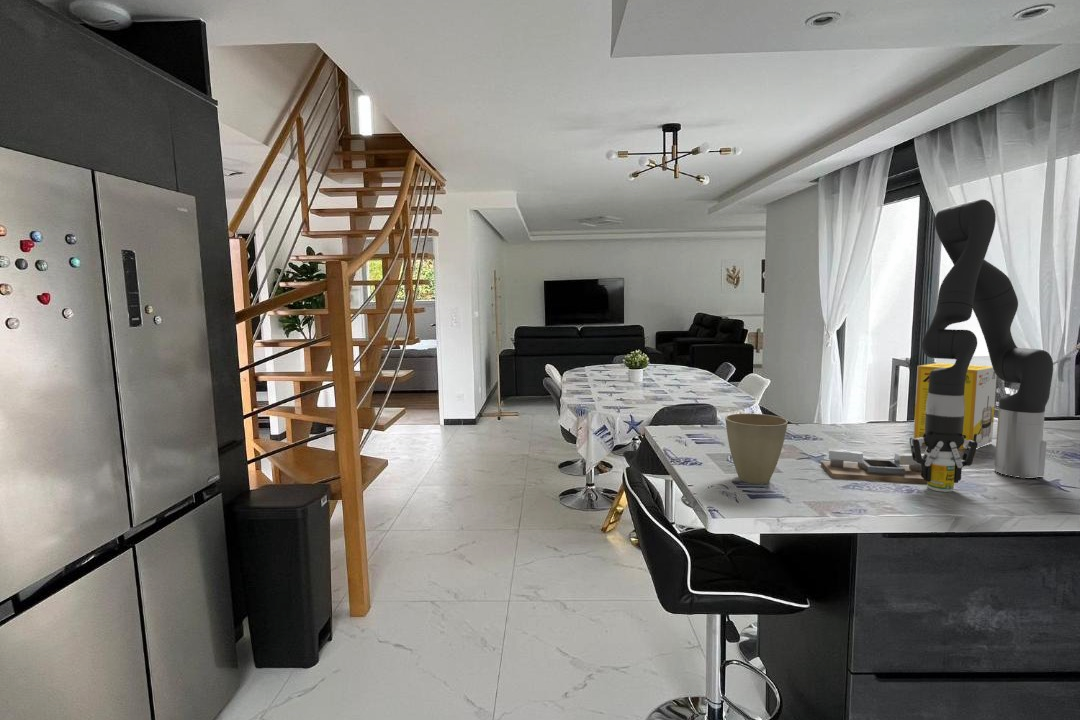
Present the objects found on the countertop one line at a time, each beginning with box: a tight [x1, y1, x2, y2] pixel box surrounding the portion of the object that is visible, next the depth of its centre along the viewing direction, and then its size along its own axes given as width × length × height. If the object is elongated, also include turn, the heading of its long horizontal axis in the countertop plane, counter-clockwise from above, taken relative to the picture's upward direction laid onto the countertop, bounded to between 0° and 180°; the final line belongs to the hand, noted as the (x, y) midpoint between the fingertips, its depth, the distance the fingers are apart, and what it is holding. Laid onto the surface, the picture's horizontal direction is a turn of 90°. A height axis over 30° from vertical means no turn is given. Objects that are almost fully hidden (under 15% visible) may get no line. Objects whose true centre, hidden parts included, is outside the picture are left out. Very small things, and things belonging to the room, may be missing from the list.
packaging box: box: [913, 362, 998, 450], centre depth 184 cm, size 16×16×25 cm
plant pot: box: [724, 412, 789, 485], centre depth 146 cm, size 15×15×16 cm
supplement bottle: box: [926, 451, 955, 493], centre depth 138 cm, size 5×5×10 cm
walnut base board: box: [820, 461, 927, 485], centre depth 151 cm, size 26×12×1 cm, turn 77°
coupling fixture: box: [828, 448, 924, 476], centre depth 151 cm, size 24×9×4 cm, turn 77°
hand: (940, 480), depth 139 cm, fingers closed on supplement bottle, 5 cm apart
